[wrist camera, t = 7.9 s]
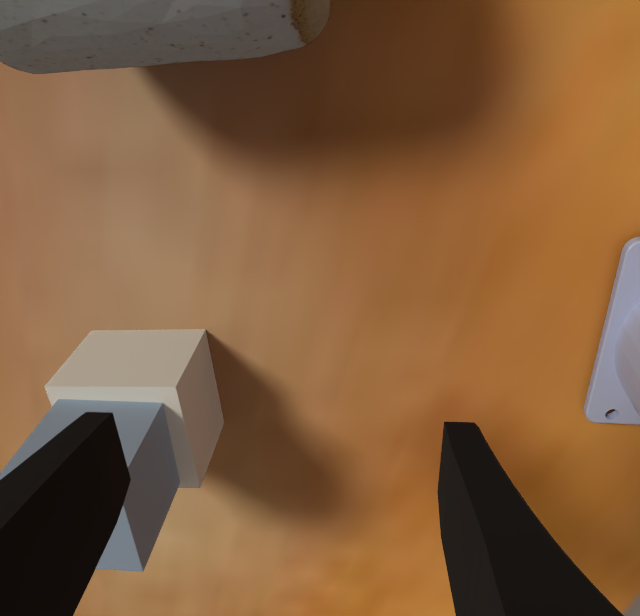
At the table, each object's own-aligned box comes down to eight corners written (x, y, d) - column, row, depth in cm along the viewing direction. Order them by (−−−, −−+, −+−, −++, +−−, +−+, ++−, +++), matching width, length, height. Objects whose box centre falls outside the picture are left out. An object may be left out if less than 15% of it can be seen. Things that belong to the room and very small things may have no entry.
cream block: (206, 328, 24) (175, 386, 20) (224, 421, 26) (200, 488, 23) (92, 328, 25) (44, 386, 21) (121, 420, 27) (81, 484, 24)
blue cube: (162, 402, 21) (117, 486, 17) (180, 482, 23) (143, 571, 19) (58, 398, 21) (-6, 480, 18) (84, 477, 23) (31, 564, 20)
